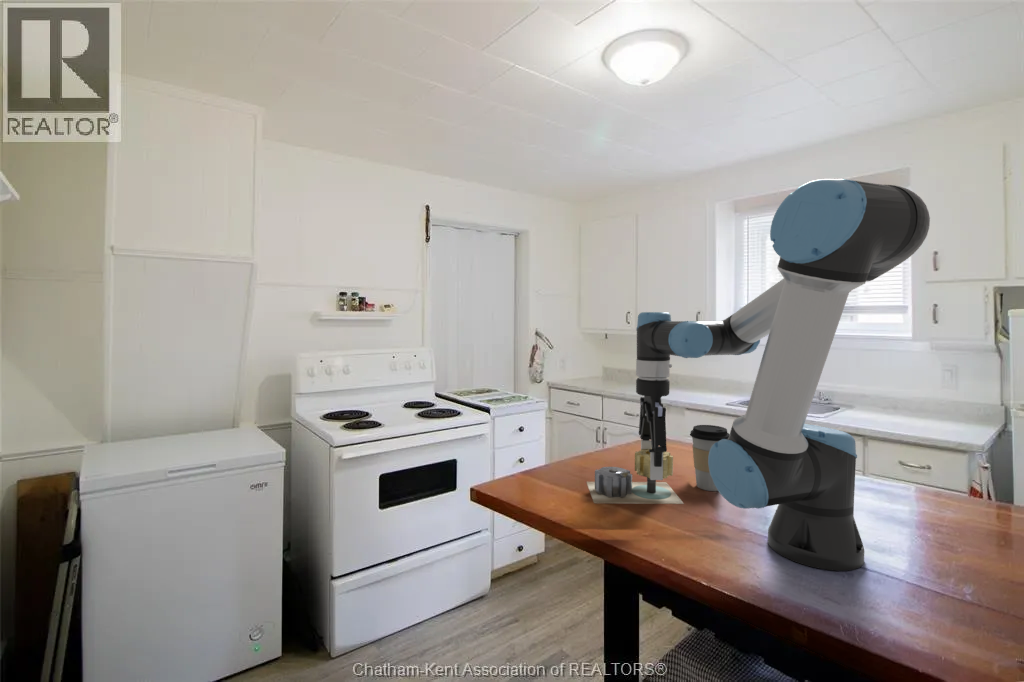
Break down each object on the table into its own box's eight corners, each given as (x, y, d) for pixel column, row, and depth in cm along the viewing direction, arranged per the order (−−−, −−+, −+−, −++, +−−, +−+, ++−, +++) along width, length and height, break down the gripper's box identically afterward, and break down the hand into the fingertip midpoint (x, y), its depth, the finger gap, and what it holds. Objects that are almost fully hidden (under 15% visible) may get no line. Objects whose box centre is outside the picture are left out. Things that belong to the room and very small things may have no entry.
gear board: (684, 510, 109) (684, 480, 109) (594, 509, 110) (594, 480, 109) (666, 488, 123) (666, 461, 123) (586, 487, 123) (586, 461, 123)
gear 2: (676, 480, 112) (677, 458, 111) (639, 479, 112) (640, 458, 112) (666, 467, 120) (666, 447, 120) (631, 467, 120) (632, 447, 120)
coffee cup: (723, 496, 117) (725, 434, 116) (683, 488, 123) (684, 429, 122) (733, 485, 125) (734, 427, 124) (695, 478, 130) (696, 422, 129)
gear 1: (634, 498, 112) (635, 477, 112) (598, 498, 112) (598, 476, 112) (627, 485, 120) (627, 465, 120) (593, 485, 121) (593, 465, 120)
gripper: (683, 384, 104) (681, 489, 105) (656, 372, 125) (655, 459, 126) (648, 384, 104) (646, 489, 105) (627, 372, 125) (626, 459, 127)
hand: (651, 472), depth 116 cm, fingers closed on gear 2, 8 cm apart
